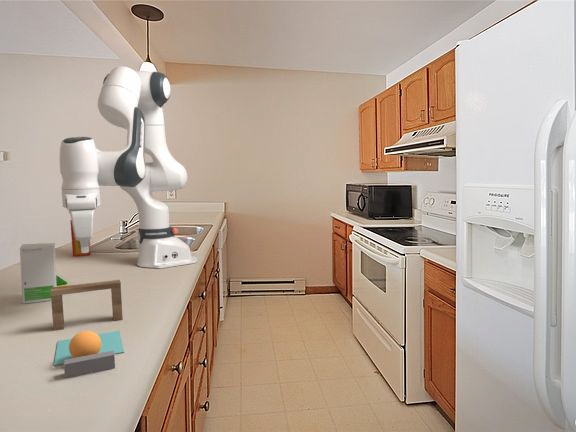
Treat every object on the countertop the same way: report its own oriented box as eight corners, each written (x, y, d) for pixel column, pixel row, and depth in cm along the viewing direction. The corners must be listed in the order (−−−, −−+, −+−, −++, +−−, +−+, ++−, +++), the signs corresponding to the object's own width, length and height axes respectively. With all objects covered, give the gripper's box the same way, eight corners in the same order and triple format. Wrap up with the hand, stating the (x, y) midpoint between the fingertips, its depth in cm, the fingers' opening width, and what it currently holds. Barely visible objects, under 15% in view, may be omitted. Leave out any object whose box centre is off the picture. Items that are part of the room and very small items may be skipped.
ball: (100, 332, 81) (99, 324, 77) (102, 359, 79) (102, 353, 75) (69, 337, 79) (66, 330, 74) (71, 366, 77) (68, 360, 72)
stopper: (114, 363, 75) (113, 350, 75) (115, 367, 74) (114, 354, 73) (65, 373, 72) (64, 359, 72) (65, 378, 70) (64, 364, 70)
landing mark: (119, 331, 91) (119, 330, 90) (124, 352, 80) (123, 351, 80) (57, 341, 85) (57, 340, 85) (54, 366, 75) (54, 365, 75)
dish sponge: (41, 294, 120) (41, 286, 120) (31, 285, 130) (30, 278, 130) (68, 289, 125) (67, 282, 125) (55, 281, 135) (55, 274, 135)
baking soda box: (89, 255, 174) (87, 218, 172) (72, 257, 171) (70, 219, 169) (90, 251, 182) (88, 216, 181) (74, 253, 180) (71, 217, 178)
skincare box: (22, 304, 110) (17, 248, 108) (24, 297, 116) (20, 244, 114) (57, 299, 114) (53, 245, 112) (58, 293, 119) (54, 241, 118)
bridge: (54, 326, 94) (51, 287, 93) (121, 315, 100) (119, 279, 99) (53, 330, 91) (50, 290, 90) (122, 319, 98) (120, 282, 97)
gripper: (69, 197, 113) (72, 246, 115) (66, 203, 95) (70, 261, 97) (94, 196, 116) (97, 244, 118) (96, 202, 98) (99, 258, 99)
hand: (85, 252), depth 107 cm, fingers closed
